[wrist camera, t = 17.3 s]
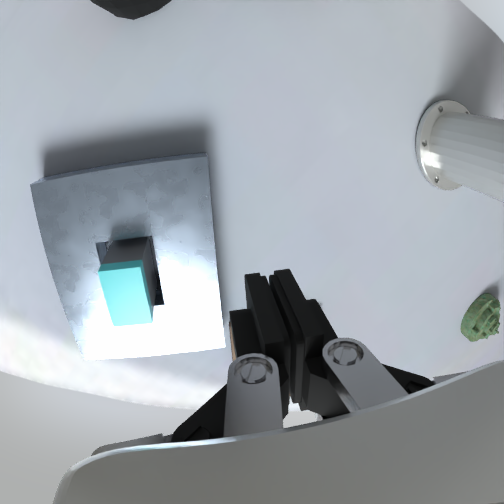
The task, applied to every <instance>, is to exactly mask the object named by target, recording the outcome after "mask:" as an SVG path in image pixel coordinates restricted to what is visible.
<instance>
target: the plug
mask: <svg viewBox="0 0 504 504" xmlns="http://www.w3.org/2000/svg"><path fill="white" fill-rule="evenodd" d="M98 275H99V279H100V283H101V286H102V290H103V294H104V297H105V301H106V304H107V308H108V311H109V314H110V318H111V321H112V324H113V327H118V326H130V325H141V324H152V323H153V315H154V305H155V296H156V287H157V280H156V275H155V269H154V263H153V258H152V252H151V246H150V239H149V236H145V237H137V238H129V239H121V240H114V241H113V242H112V243H111V245H110V247H109V249H108V251H107V254H106V256H105V258H104V260H103V262H102V264H101V266H100V268H99V270H98Z"/></svg>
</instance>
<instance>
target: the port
mask: <svg viewBox="0 0 504 504" xmlns="http://www.w3.org/2000/svg"><path fill="white" fill-rule="evenodd" d="M30 186H31V192H32V197H33V202H34V207H35V211H36V216H37V220H38V225H39V229H40V233H41V237H42V241H43V245H44V248H45V252H46V256H47V259H48V263H49V266H50V269H51V273H52V276H53V279H54V282H55V285H56V288H57V291H58V294H59V297H60V300H61V303H62V306H63V308H64V311H65V314H66V317H67V319H68V322H69V325H70V327H71V330H72V332H73V335H74V337H75V340H76V342H77V344H78V347H79V349H80V351H81V354H82V356H83V358H84V360H98V359H115V358H130V357H142V356H154V355H164V354H174V353H183V352H192V351H200V350H208V349H216V348H223V347H225V340H224V331H223V322H222V313H221V303H220V294H219V284H218V274H217V263H216V253H215V242H214V230H213V218H212V206H211V193H210V180H209V166H208V156H207V154H206V153H196V154H186V155H177V156H169V157H160V158H153V159H145V160H138V161H131V162H124V163H118V164H112V165H106V166H100V167H94V168H88V169H83V170H78V171H73V172H67V173H63V174H58V175H53V176H48V177H44V178H42V179H40V180H38V181H36V182H34V183H32V184H31V185H30ZM145 236H153V243H154V249H155V255H156V260H157V266H158V271H159V277H160V282H161V287H162V289H160V290H156V296H155V305H154V315H153V323H152V324H141V325H130V326H118V327H113V324H112V321H111V318H110V314H109V311H108V308H107V304H106V301H105V297H104V294H103V290H102V286H101V283H100V279H99V275H98V270H99V268H100V266H101V264H102V262H103V260H104V258H105V256H106V254H107V249H106V244H105V242H106V241H114V240H121V239H129V238H137V237H145Z"/></svg>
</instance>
